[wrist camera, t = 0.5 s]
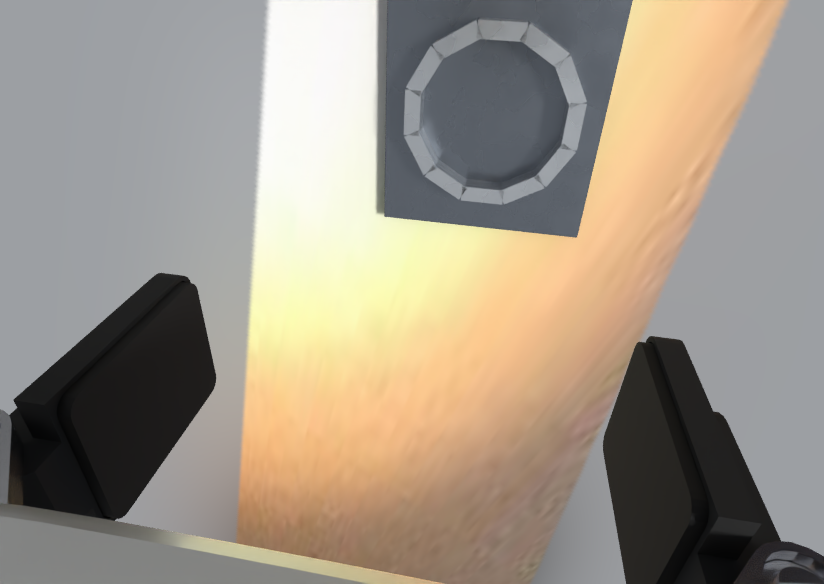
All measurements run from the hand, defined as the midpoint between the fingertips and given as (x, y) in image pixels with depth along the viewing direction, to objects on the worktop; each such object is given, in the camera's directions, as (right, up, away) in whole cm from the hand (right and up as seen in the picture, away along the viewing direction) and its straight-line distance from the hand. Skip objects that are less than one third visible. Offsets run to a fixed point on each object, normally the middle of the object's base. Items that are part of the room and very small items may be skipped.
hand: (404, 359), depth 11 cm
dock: (+6, +13, +23) cm, 27 cm away
